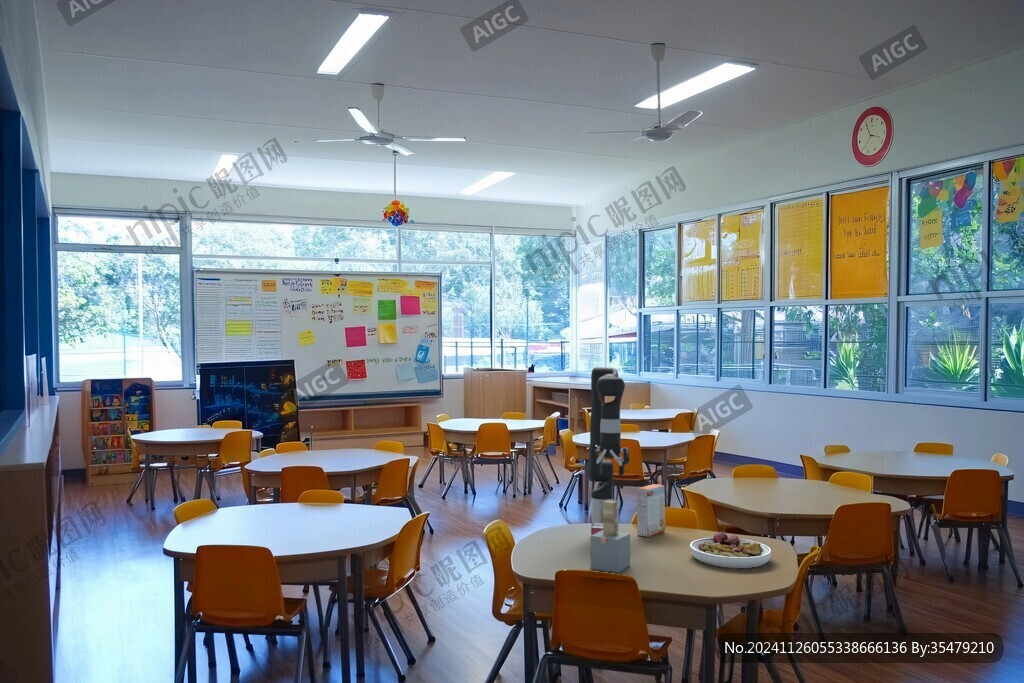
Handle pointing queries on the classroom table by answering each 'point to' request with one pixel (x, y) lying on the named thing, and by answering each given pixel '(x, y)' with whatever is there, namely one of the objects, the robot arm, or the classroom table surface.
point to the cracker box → (650, 510)
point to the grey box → (610, 552)
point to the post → (610, 518)
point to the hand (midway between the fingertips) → (610, 474)
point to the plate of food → (730, 551)
